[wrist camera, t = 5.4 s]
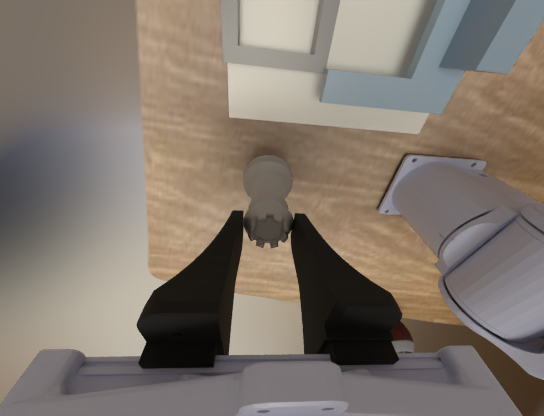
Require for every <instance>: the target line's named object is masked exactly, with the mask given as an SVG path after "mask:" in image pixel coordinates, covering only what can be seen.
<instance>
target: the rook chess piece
mask: <svg viewBox="0 0 544 416" xmlns="http://www.w3.org/2000/svg"><path fill="white" fill-rule="evenodd" d="M292 182H293V179H292V172H291V169H290V167H289V165H288V164H287V163H286V162H285V161H284V160H283V159H281V158H279V157H277V156H274V155H263V156H260V157H256V158H255V159H253V160H252V161H251V162H250V163H249V164H248V165H247V167H246V169H245V171H244V188H245V190H246V192H247V194H248V196H249V197H250V198H251V199H252V201H251V203H250V204H249V210H248V211H247V213H246V215H245V216H244V218H243V226H244V228H245V230H246V232H247V234H248V237H249V239H250V241H253V240H257V241H256V246H259V247H262V248H263V247H264V243H270V246H271V248H274V247H278V241H280V240H281V241H282V242H284V243H285V241H286V240H287V239H288V234H289V233H290V231H291V230H292V228H293V223H294V220H293V217H292V214H291V213H290V212H289V211H288V206H287V203H286V201H285V198H286V197H287V196H288V194H289V192H290V191H291V188H292Z"/></svg>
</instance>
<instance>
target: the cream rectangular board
mask: <svg viewBox="0 0 544 416" xmlns="http://www.w3.org/2000/svg"><path fill="white" fill-rule="evenodd" d="M220 1H221V25H222V49H223V62H225V63H228V95H229V117H231V118H242V119H254V120H265V121H276V122H287V123H299V124H310V125H321V126H332V127H344V128H355V129H366V130H378V131H389V132H400V133H411V134H419V133H420V131H421V129H422V127H423V125H424V123H425V121H426V119H427V117H428V115H429V113H421V112H411V111H401V110H391V109H380V108H370V107H360V106H350V105H340V104H330V103H321V102H320V101H319V99H320V94H321V89H322V84H323V79H324V75H325V70H326V69H332V70H341V71H350V72H359V73H368V74H376V75H385V76H394V77H403V78H405V77H406V75H407V72H408V70H409V67H410V65H411V62H412V60H413V58H414V55H415V53H416V50H417V48H418V45H419V43H420V40H421V38H422V36H423V33H424V31H425V28H426V26H427V23H428V21H429V19H430V16H431V14H432V11H433V9H434V6H435V4H436V2H437V0H220Z"/></svg>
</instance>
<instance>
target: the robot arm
mask: <svg viewBox="0 0 544 416" xmlns="http://www.w3.org/2000/svg"><path fill="white" fill-rule="evenodd" d="M414 158H415V160H413V159H414ZM412 160H413V161H412ZM486 164H487V162H486V161H484V160H475V159H462V158H450V157H437V156H425V155H412V154H410V155H407V156H406V157H405V158H404V160H403V162H402V164H401V166H400V168H399V170H398V172H397V174H396V175H395V177H394V179H393V181H392V183H391V185H390V187H389V189H388V191H387V193H386V195H385V197H384V199H383V201H382V203H381V205H380V207H379V209H378V212H379V213H380V214H390V215H402V216H403V218H404V219H405V220H406V221H407V222H408V223H409V225H410V226H411V227H412V228H413V229H414V230H415V231H416V233H417V234H418V235H419V236H420V237H421V238H422V240H423V241H424V242H425V243H426V244H427V245H428V247H429V248H430V249H431V250H432V251H433V252H434V253H435V255H436V256H437V257H438V258H439V260H438V262H437V263H436V264H435V266H436V267H437V269H438V270H439V271H440V272H441V273H442V276H441V277H440V278H439V280H438V287H439V290H440V293H441V295H442V297H443V299H444V301H445V302H446V304H447V306H448V307H449V308H450V310H451V311H452V312H453V313H454V314H455V315H456V316H457V317H458V318H459V319H460V320H461V321H462V322H463V323H464V324H465V325H466V326H468V327H469V328H470V329H472V330H473V331H475V332H476V333H478V334H479V335H481V336H483V337H485V338H486V339H487V340H489V341H490V342H492V343H493V344H495V345H496V346H497V347H499V348H500V349H501V350H502V351H504V352H505V353H506V354H507V355H509V356H510V357H511V358H512V359H513V360H515V361H516V362H517V363H518V364H519V365H520V366H521V367H522V368H523V369H524V370H525V371H526V372H527V373H529V374H530V375H532V376H534V377H537V378H540V379H543V380H544V203H539V202H537V201H536V200H535V199H534V198H532V197H530V196H529V195H527V194H525V193H523V192H521V191H519V190H517V189H515V188H514V187H512V186H510V185H508V184H506V183H504V182H502V181H500V180H499V179H497V178H495V177H493V176H491V175H489V174H487V173H485V172H483V171H482V170H483V168H484V167H485V166H486ZM242 242H243V211H235V210H234V211H232V213H231V215H230V217H229V218H228V220H227V222H226V223H225V225H224V226H223V228H222V229H221V231H220V232H219V234H218V235H217V236H216V237H215V239H214V240H213V241H212V242H211V244H210V245H209V246H208V247H207V248H206V249H205V250H204V251H203V252H202V253H201V254H200V255H199V256H198V257H197V258H196V259H195V260H194V261H193V262H192V263H191V264H190V265H188V266H187V267H186V268H185V269H183V270H182V271H181V272H180V273H178V274H177V275H176V276H175V277H173V278H172V279H170V280H169V281H168V282H166V283H165V284H163V285H162V286H160V287H159V288H157V289H156V290H154V292H153V293H152V295H151V297H150V298H149V300H148V301H147V303H146V305H145V307H144V309H143V311H142V313H141V315H140V318H139V320H138V322H137V328H138V330H139V332H140V333H141V334H142V336H143V337H144V339H145V340H146V342H147V343H146V345H145V348H144V350H143V353H142V355H141V356H137V357H136V356H134V357H133V356H132V357H85V355H84V354H83V353H82V352H80V351H78V350H73V349H72V350H71V349H48V350H47V349H44V350H41V351H40V352H39V353H38V354H37V356H36V357H35V358H34V360H33V361H32V362H31V364H30V365H29V366H28V368H27V369H26V370H25V372H24V373H23V374H22V376H21V377H20V378H19V380H18V381H17V383H16V384H15V385H14V386H13V388H12V389H11V390H10V392H9V393H8V394H7V396H6V397H5V399H4V400H3V401H2V403H1V404H0V416H522V415H521V413H520V412H519V410H518V409H517V407H516V406H515V405H514V404H513V402H512V401H511V399H510V398H509V396H508V395H507V394H506V392H505V391H504V389H503V388H502V387H501V385H500V384H499V382H498V381H497V380H496V378H495V377H494V375H493V374H492V373H491V371H490V370H489V369H488V367H487V366H486V364H485V363H484V362H483V360H482V359H481V358H480V356H479V355H478V353H477V352H476V350H475V349H474V348H473V347H472V346H448V347H444V348H442V349H440V350H439V351H438V352H437V353H396V351H395V349H394V346H393V344H392V342H391V341H393V336H392V334H391V330H392V329H393V328H394V327H395V326H396V325H397V324H398V323H399V321H400V320H401V318H402V312H401V310H400V308H399V307H398V305H397V303H396V301H395V299H394V297H393V296H392V294H391V293H390V292H388V291H386V290H385V289H383V288H381V287H380V286H378V285H377V284H375V283H373V282H372V281H370V280H369V279H368V278H366V277H365V276H363V275H362V274H361V273H359V272H358V271H357V270H355V269H354V268H353V267H352V266H350V265H349V264H348V263H347V262H346V261H345V260H343V259H342V258H341V257H340V256H339V255H338V254H337V253H336V252H335V251H334V250H333V249H332V248H331V247H330V246H329V245H328V244H327V242H326V241H325V240H324V239H323V238H322V236H321V235H320V234H319V233H318V231H317V230H316V229H315V227H314V226H313V225H312V223H311V222H310V221H309V219H308V218H307V216H306V215H305V214H298V213H295V217H294V223H293V228H292V232H291V247H292V254H293V259H294V264H295V269H296V273H297V278H298V284H299V291H300V301H301V312H302V323H303V338H304V354H302V355H229V343H230V332H231V319H232V310H233V300H234V290H235V282H236V276H237V271H238V266H239V261H240V256H241V251H242Z"/></svg>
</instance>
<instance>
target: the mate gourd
mask: <svg viewBox="0 0 544 416" xmlns="http://www.w3.org/2000/svg"><path fill="white" fill-rule="evenodd" d="M391 334H392V336H393V341H391V342H392V344H393V346H394V349H395V351H396V353H414V343H413V340H412V337H411V334H410V333H409V331H408V330H407V328H406V327H405V326H404V324H403V323H402V322H401V321H399V323H398V324H397V325H396V326H395V327H394V328H393V329H392V330H391Z"/></svg>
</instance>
